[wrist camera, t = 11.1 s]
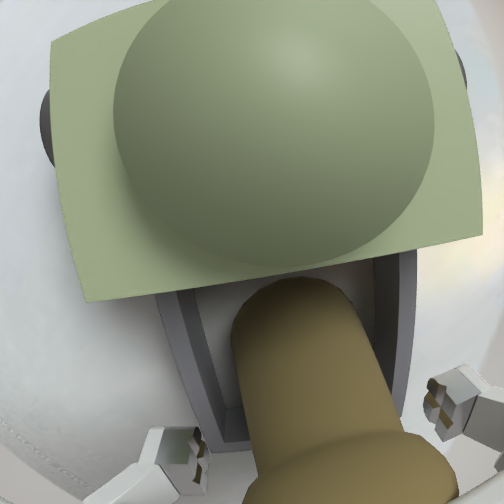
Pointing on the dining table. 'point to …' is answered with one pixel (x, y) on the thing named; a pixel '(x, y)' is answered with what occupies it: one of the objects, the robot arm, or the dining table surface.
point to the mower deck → (260, 159)
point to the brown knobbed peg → (325, 406)
